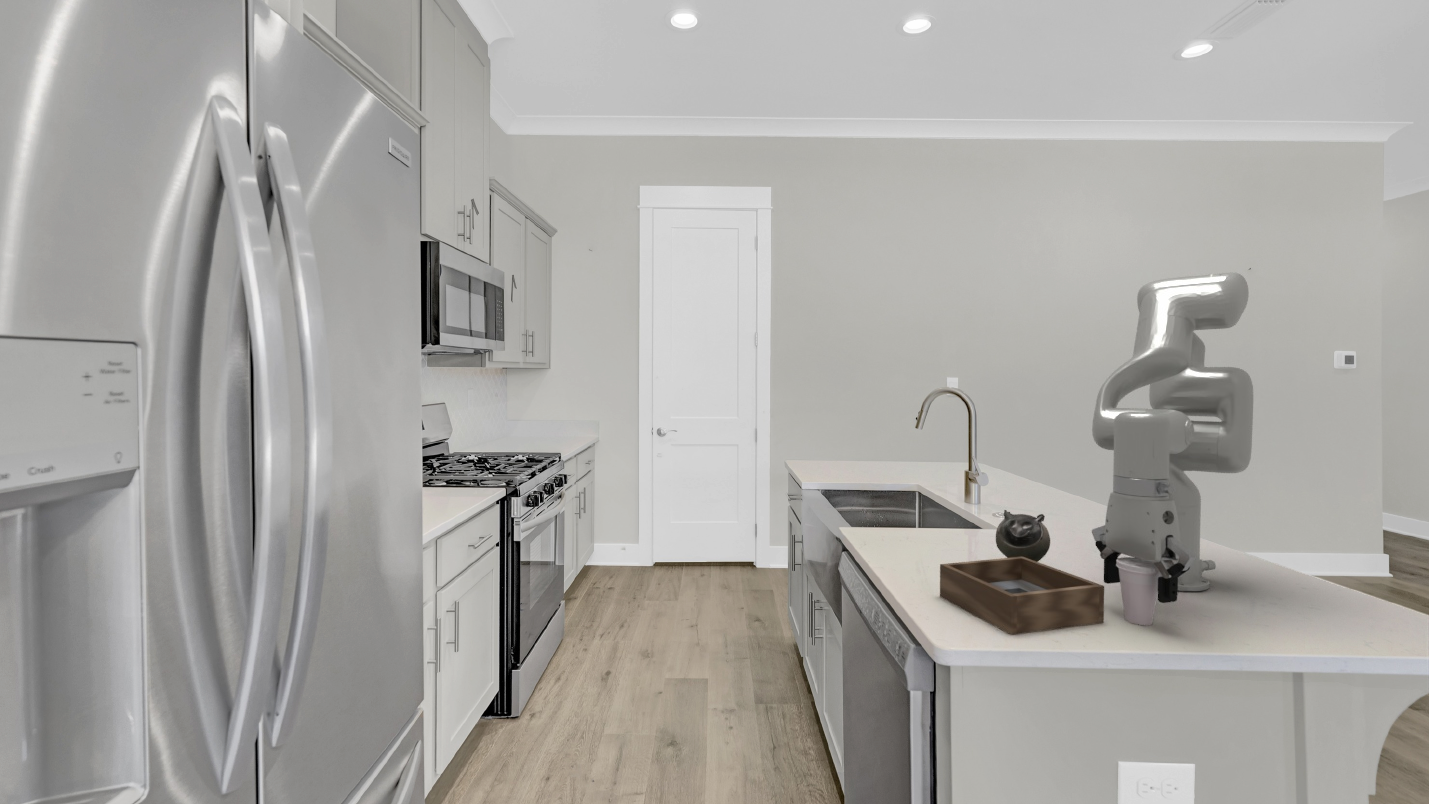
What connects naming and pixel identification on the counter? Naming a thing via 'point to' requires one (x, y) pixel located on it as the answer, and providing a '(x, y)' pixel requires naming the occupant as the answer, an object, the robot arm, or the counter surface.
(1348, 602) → the counter surface
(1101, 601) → the wooden box
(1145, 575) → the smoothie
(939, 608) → the counter surface
